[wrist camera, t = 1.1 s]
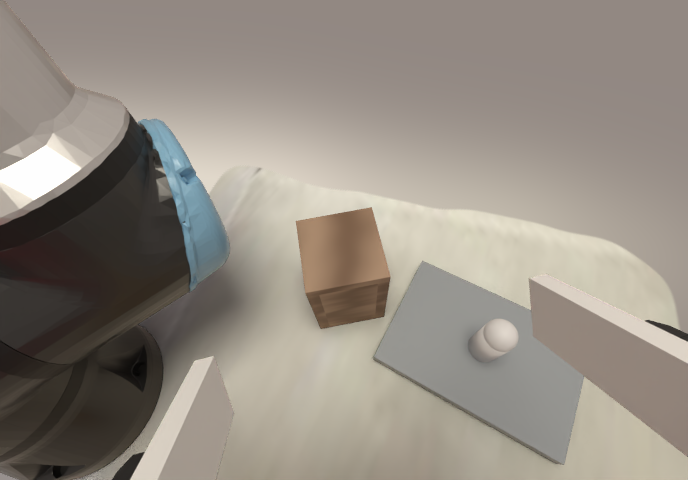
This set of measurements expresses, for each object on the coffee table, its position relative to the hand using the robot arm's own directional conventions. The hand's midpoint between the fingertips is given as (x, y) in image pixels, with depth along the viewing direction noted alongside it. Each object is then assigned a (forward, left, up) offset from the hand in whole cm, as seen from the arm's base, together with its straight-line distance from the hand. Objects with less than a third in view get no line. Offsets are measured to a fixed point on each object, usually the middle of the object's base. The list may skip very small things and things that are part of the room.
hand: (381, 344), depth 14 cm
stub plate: (+8, +9, -23) cm, 26 cm away
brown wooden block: (-7, +8, -23) cm, 25 cm away
